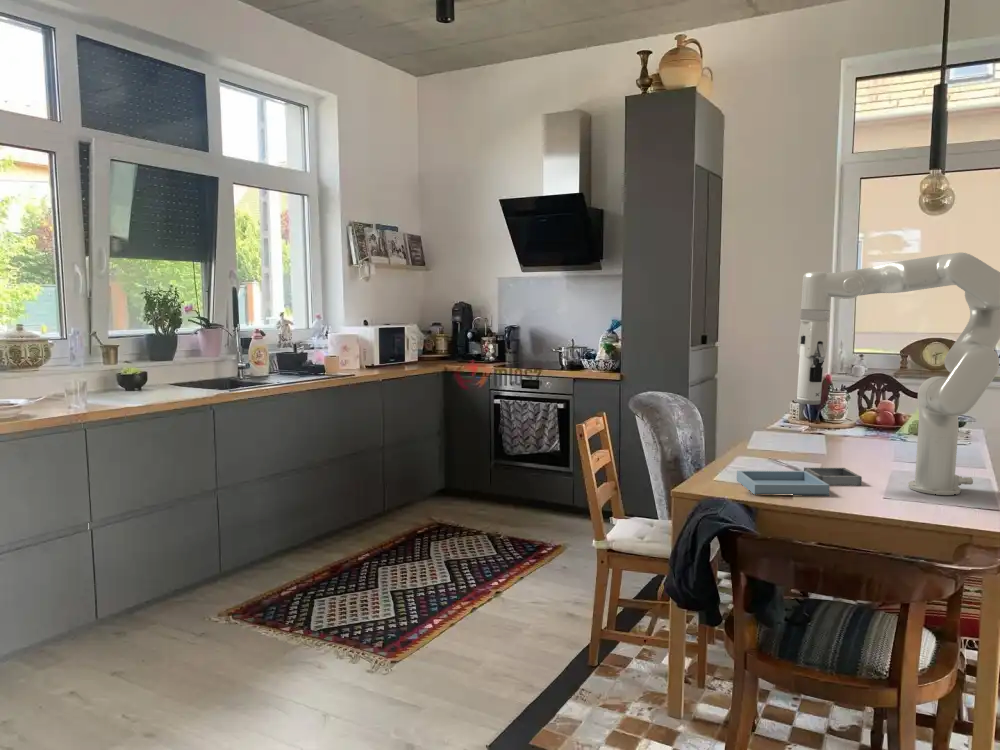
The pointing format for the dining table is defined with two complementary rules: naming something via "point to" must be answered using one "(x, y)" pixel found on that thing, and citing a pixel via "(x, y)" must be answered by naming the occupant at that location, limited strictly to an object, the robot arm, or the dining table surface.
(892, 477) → the dining table surface
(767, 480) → the tray
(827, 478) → the small grey square tray
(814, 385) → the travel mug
